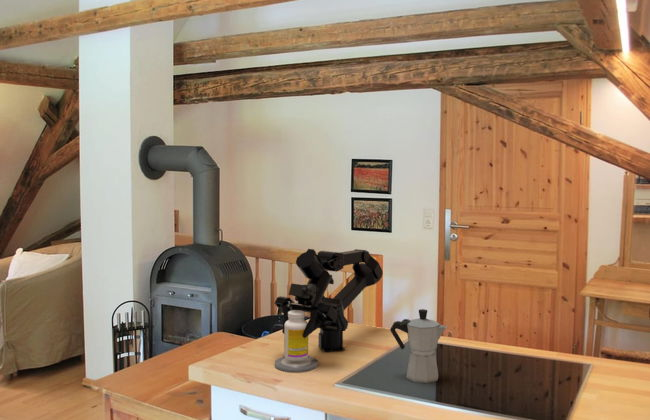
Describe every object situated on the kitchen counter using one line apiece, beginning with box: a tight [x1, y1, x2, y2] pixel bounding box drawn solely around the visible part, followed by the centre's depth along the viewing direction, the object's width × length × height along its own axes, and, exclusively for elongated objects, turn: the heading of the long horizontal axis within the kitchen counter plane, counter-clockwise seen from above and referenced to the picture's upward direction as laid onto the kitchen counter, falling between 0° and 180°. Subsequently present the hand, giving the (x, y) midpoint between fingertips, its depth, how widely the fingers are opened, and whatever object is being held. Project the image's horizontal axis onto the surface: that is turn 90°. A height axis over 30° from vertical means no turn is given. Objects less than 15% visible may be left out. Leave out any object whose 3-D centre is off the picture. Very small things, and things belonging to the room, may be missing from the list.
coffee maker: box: [389, 308, 448, 384], centre depth 162 cm, size 15×9×18 cm, turn 75°
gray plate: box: [274, 355, 319, 373], centre depth 172 cm, size 12×12×1 cm
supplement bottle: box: [283, 310, 309, 361], centre depth 171 cm, size 7×7×13 cm
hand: (293, 335), depth 170 cm, fingers closed on supplement bottle, 7 cm apart
